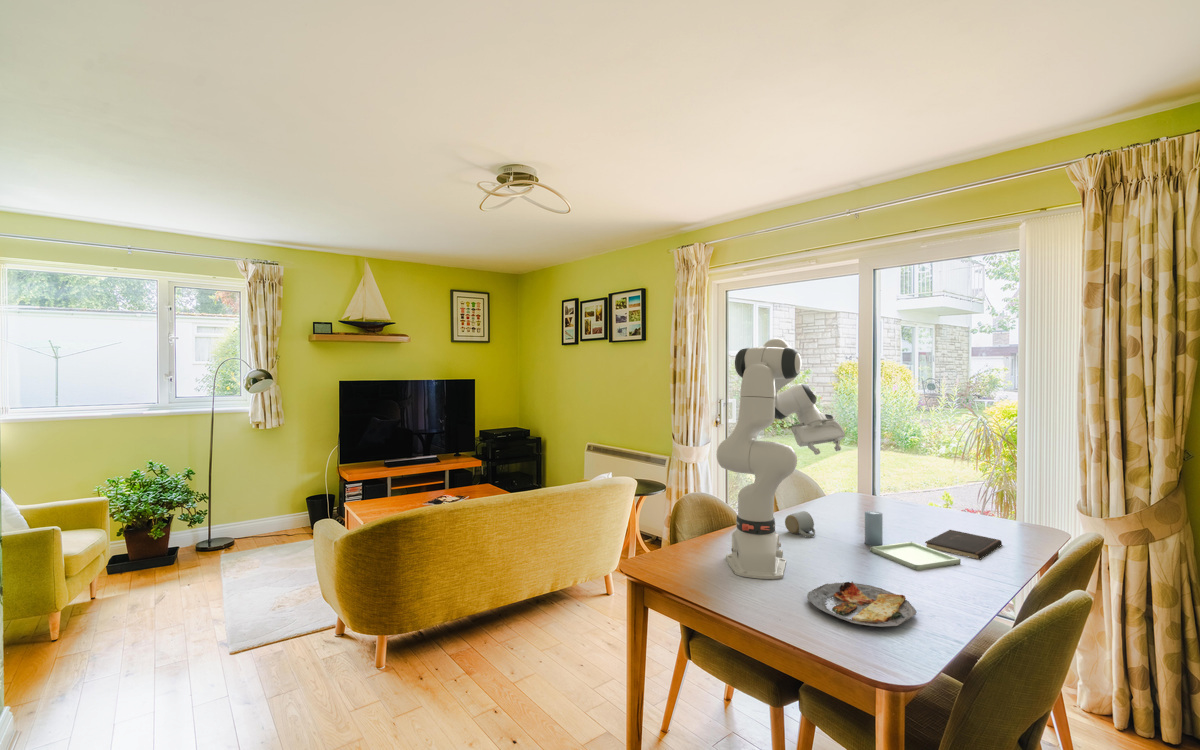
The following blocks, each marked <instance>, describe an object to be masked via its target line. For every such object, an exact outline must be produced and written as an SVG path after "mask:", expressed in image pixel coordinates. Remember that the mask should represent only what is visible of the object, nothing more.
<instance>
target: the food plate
mask: <svg viewBox="0 0 1200 750" xmlns="http://www.w3.org/2000/svg"><path fill="white" fill-rule="evenodd" d="M806 599H807V600H808V602H810V603H811V604H812V605H813V606H814V607H815V608H818V610H820V611H823V612H824V613H825V614H829V615H830V616H833V617H836V618H837V619H839V620H844V621H847V622H849V623H851V624H856V625H863V626H867V627H897V626H899V625H901V624H903V623H905V622H907V621H909V620H910V619H911V618H912V617H914V616H915V615H917V610H916V608H915V607H914V606H913V605H912V604H911V603H910V601H908V600H907V599H906V596H905V595H903V594H896V593H894V592H891V591H888V590H886V589H883V588H881V587H876V586H874V585H869V584H862V583H857V582H853V581H851V582H850V581H847V582H834V583H825V584H822V585H820V586H818V587H816V588H814V589H812V590H811V591H808V592H807V595H806ZM830 601H833V603H830ZM828 602H829V603H830V606H831V605H832V606H833V607H832V610H830V608H827V607H828V605H829V603H828ZM853 613H856V614H855V615H853V617H851V618H848V617H845V616H848V615H851V614H853Z"/></svg>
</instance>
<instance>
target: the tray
mask: <svg viewBox="0 0 1200 750" xmlns="http://www.w3.org/2000/svg"><path fill="white" fill-rule="evenodd" d="M869 550H870V552H871V553H874V554H875V555H878V556H881V557H884V558H886V559H888V560H890V561H893V562H896V563H898V564H901V565H903V566H906V567H907V568H910V569H913V570H915V571H921V570H928V569H935V568H942V567H947V566H948V565H949V566H955V565H954V564H956V565H961V564H960V563H961V561H962V560H961V558H958V557H956V556H953V555H950V554H948V553H944V552H943V551H940V550H937V549H932V548H928V547H927V546H926V545H922V544H920V543H916V542H914V541H907V542H899V543H891V544H883V545H882V546H870V549H869Z"/></svg>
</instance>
